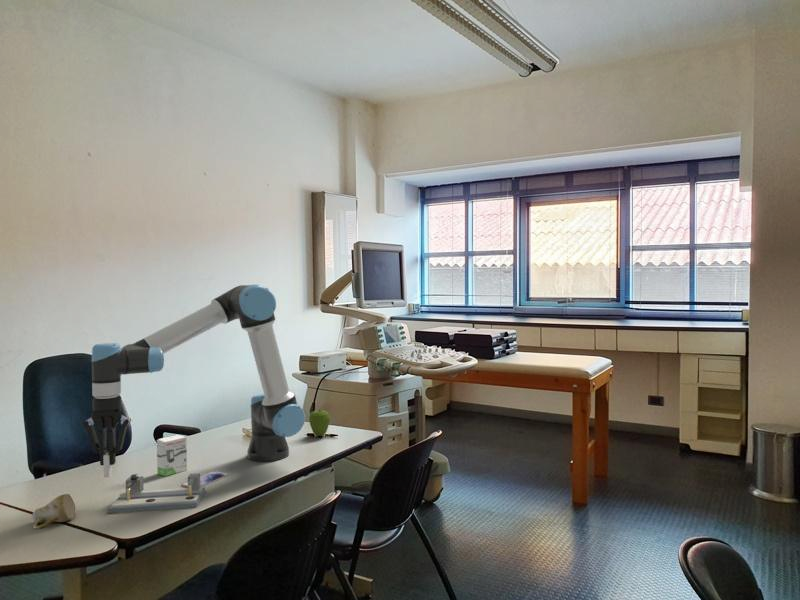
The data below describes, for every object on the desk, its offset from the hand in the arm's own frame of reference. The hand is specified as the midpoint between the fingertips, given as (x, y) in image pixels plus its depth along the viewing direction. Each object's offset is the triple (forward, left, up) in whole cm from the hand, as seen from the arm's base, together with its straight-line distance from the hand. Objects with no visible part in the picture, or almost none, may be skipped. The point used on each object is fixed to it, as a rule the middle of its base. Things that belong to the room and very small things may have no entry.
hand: (108, 475), depth 170 cm
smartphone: (-25, -15, -9) cm, 30 cm away
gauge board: (-15, +2, -8) cm, 17 cm away
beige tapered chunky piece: (+10, +13, -8) cm, 18 cm away
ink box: (-12, -26, -8) cm, 29 cm away
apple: (-62, -63, -8) cm, 88 cm away
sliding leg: (-7, +2, -6) cm, 10 cm away
